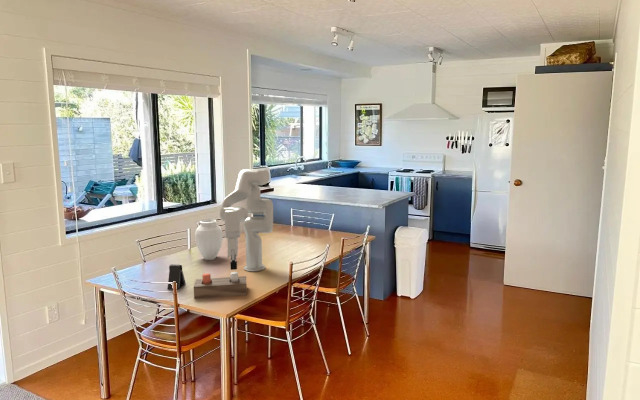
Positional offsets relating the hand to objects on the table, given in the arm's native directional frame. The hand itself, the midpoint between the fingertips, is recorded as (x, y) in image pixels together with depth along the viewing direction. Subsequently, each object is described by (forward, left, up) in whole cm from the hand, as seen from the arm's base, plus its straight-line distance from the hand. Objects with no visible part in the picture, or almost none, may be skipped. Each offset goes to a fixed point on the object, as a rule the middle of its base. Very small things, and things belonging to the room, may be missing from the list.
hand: (233, 269), depth 238 cm
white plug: (0, 0, -8) cm, 8 cm away
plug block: (0, -7, -12) cm, 14 cm away
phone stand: (-14, -31, -13) cm, 36 cm away
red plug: (0, -14, -8) cm, 16 cm away
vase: (-66, -17, -13) cm, 70 cm away
